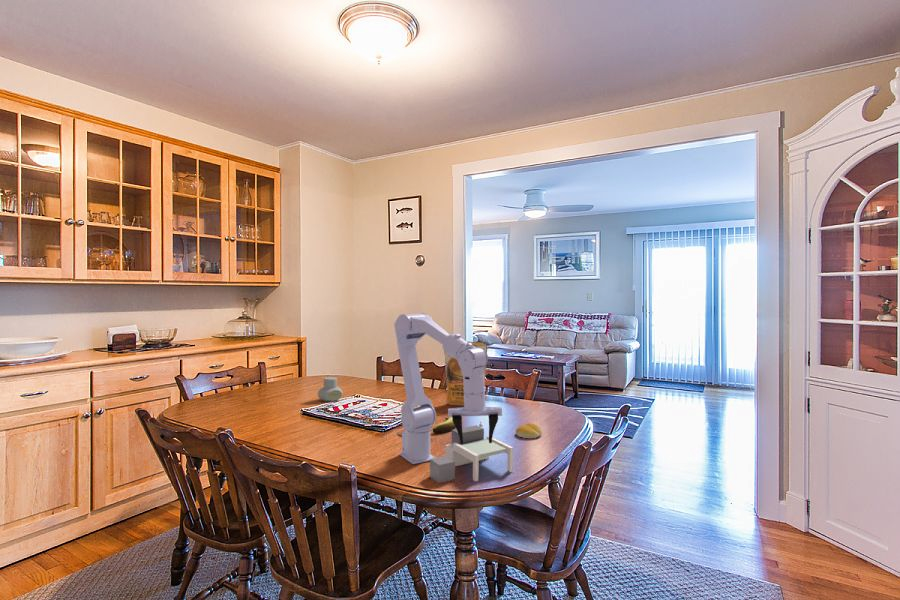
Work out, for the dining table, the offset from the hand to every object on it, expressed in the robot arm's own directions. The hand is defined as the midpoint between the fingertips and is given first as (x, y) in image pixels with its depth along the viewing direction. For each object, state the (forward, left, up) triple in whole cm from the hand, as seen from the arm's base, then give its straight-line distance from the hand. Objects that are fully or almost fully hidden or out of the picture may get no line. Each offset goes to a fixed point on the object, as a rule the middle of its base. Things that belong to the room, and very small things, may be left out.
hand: (476, 442), depth 126 cm
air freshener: (-104, -8, -11) cm, 105 cm away
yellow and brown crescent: (-44, +17, -11) cm, 48 cm away
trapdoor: (-8, +6, -5) cm, 11 cm away
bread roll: (-22, +38, -11) cm, 45 cm away
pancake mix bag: (-68, +41, -11) cm, 80 cm away
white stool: (-7, +6, -10) cm, 14 cm away
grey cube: (-6, -7, -11) cm, 14 cm away
